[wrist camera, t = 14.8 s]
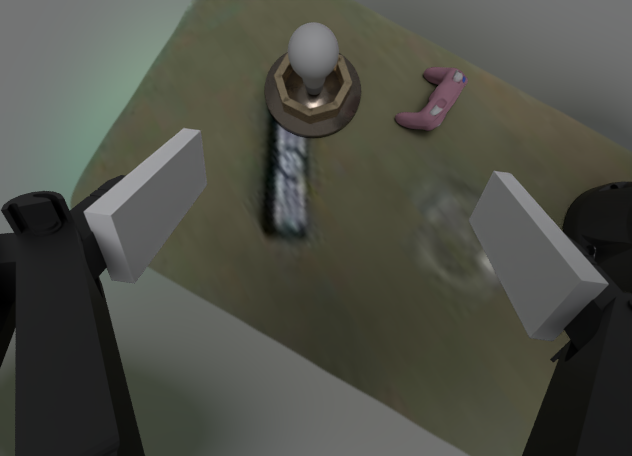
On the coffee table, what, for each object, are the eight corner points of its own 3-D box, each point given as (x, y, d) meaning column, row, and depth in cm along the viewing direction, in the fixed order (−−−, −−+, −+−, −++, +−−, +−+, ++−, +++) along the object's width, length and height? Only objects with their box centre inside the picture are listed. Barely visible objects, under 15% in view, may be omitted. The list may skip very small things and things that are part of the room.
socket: (375, 75, 47) (380, 60, 44) (333, 154, 46) (334, 144, 42) (293, 35, 48) (292, 16, 45) (248, 111, 46) (243, 98, 43)
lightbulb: (286, 79, 46) (277, 20, 35) (325, 64, 46) (327, 1, 35) (302, 115, 45) (297, 67, 34) (341, 100, 46) (349, 47, 35)
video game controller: (409, 140, 48) (445, 133, 41) (390, 119, 46) (423, 109, 40) (441, 89, 49) (480, 75, 43) (423, 67, 47) (462, 49, 41)
